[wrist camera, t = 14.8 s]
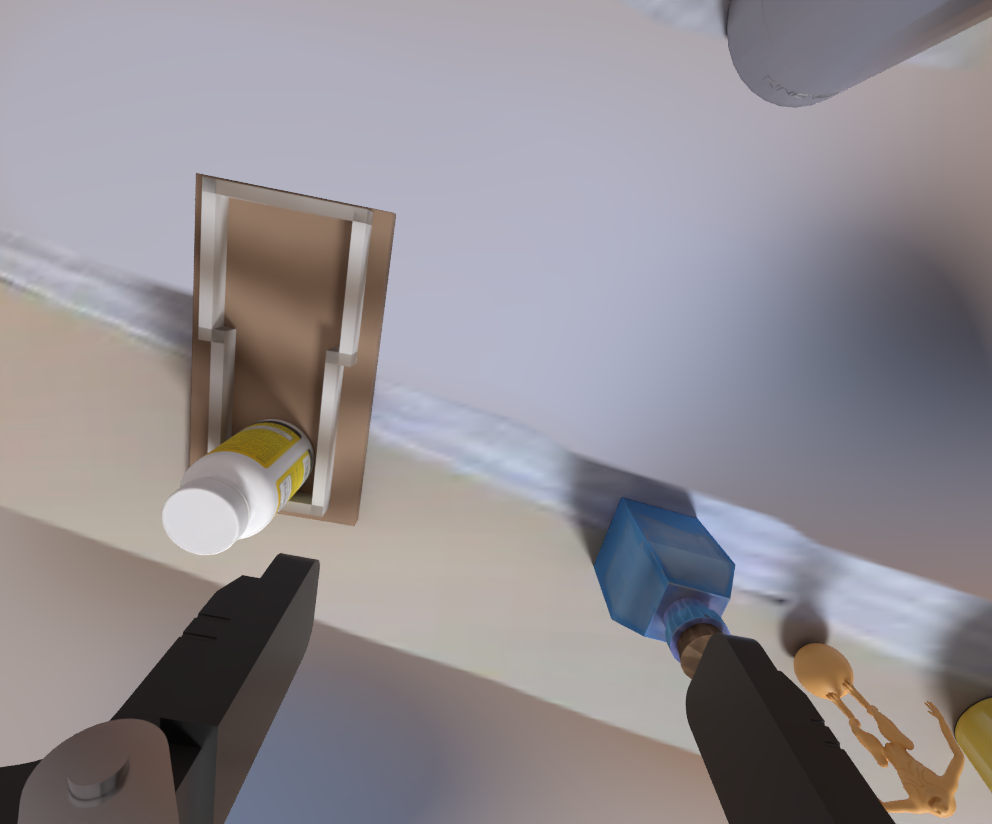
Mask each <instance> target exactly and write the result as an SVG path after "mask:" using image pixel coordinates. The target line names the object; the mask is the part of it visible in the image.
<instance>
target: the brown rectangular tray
mask: <svg viewBox="0 0 992 824" xmlns="http://www.w3.org/2000/svg"><path fill="white" fill-rule="evenodd" d="M195 202H196V203H195V244H194V246H195V247H194V291H193V337H192V384H191V430H190V467H191V466H192V465H193V464H194V463H195V462H196V461H197V460H199V459H200V458H202V457H203V456H205V455H206V454H208V453H209V452H211V451H212V450H214V449H215V448H217V447H218V446H219V445H221V444H222V443H224V442H225V441H227V440H228V439H230V438H231V437H233V436H234V435H236V434H237V433H239V432H240V431H242V430H243V429H245V428H246V427H248V426H250V425H251V424H253V423H255V422H258V421H261V420H266V419H277V420H283V421H286V422H288V423H291V424H292V425H294V426H296V427H297V428H299V429H300V430H301V431H302V432H303V433H304V434H305V435H306V437H307V438H308V439H309V441H310V443H311V445H312V448H313V451H314V465H313V469H312V471H311V473H310V475H309V477H308V478H307V480H306V481H305V482H304V483H303V484H302V486H301V487H300V488H299V489H298V490H297V491H296V493H295V494H294V495H293V496H292V497H291V498H290V500H289V501H288V502H287V503H286V504H285V505H284V507H283V508H282V509H281V510H280V511H279V512H278V514H284V515H290V516H296V517H302V518H308V519H315V520H321V521H327V522H333V523H339V524H345V525H351V526H355V524H356V522H357V520H358V515H359V507H360V499H361V491H362V483H363V475H364V467H365V459H366V451H367V443H368V435H369V427H370V419H371V411H372V403H373V395H374V387H375V379H376V371H377V363H378V355H379V347H380V339H381V331H382V323H383V315H384V307H385V299H386V291H387V283H388V275H389V267H390V259H391V251H392V243H393V235H394V227H395V219H396V214H394V213H392V212H387V211H382V210H377V209H372V208H367V207H362V206H357V205H352V204H347V203H342V202H337V201H332V200H327V199H322V198H317V197H313V196H308V195H303V194H298V193H293V192H288V191H283V190H278V189H273V188H267V187H263V186H258V185H253V184H248V183H243V182H238V181H232V180H228V179H223V178H218V177H213V176H208V175H203V174H198V173H196V198H195Z"/></svg>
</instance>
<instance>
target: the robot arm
mask: <svg viewBox="0 0 992 824" xmlns="http://www.w3.org/2000/svg"><path fill="white" fill-rule="evenodd" d="M990 17H992V0H731V3H730V7H729V13H728V24H727V34H728V46H729V51H730V54H731V58H732V61H733V64H734V66H735V68H736V70H737V72H738V74H739V76H740V78H741V79H742V81H743V82H744V83H745V84H746V85H747V86H748V88H749V89H750V90H751V91H752V92H753V93H755V94H756V95H758V96H759V97H761V98H762V99H764V100H765V101H768V102H770V103H773V104H776V105H779V106H786V107H801V106H809V105H813V104H816V103H818V102H821V101H823V100H826V99H829V98H831V97H833V96H835V95H837V94H839V93H841V92H842V91H845V90H847V89H848V88H851V87H853V86H855V85H857V84H859V83H861V82H862V81H865V80H866V79H868V78H870V77H873V76H875V75H877V74H879V73H881V72H883V71H885V70H887V69H889V68H891V67H893V66H895V65H897V64H899V63H901V62H903V61H905V60H907V59H909V58H911V57H913V56H915V55H917V54H919V53H921V52H923V51H925V50H927V49H929V48H930V47H932V46H934V45H936V44H938V43H940V42H942V41H944V40H946V39H948V38H950V37H952V36H954V35H956V34H958V33H960V32H962V31H964V30H966V29H968V28H970V27H972V26H974V25H976V24H978V23H980V22H982V21H984V20H986V19H988V18H990ZM319 569H320V563H319V560H316V559H310V558H304V557H299V556H293V555H288V554H282V553H280V554H278V555H277V556H276V557H275V559H274V560H273V561H272V563H271V564H270V565H269V567H268V568H267V570H266V571H265V572H264V574H263V575H262V577H261V578H255V577H249V576H244V575H242V576H241V577H239V578H238V579H236V580H234V581H233V582H231V583H229V584H228V585H226V586H225V587H223V588H221V589H220V590H218V591H217V592H216V593H215V594H214V595H213V596H212V598H211V599H210V600H209V601H208V603H207V604H206V605H205V606H204V607H203V609H202V610H201V611H200V612H199V614H198V617H197V618H194V620H193V621H192V622H191V623H190V625H189V626H188V627H187V628H186V629H185V630H184V632H183V635H182V637H179V638H178V639H177V640H176V642H175V643H174V644H173V645H172V646H171V648H170V649H169V650H168V651H167V653H166V654H165V655H164V656H163V657H162V658H161V660H160V661H159V662H158V663H157V665H156V666H155V667H154V668H153V669H152V671H151V672H150V673H149V675H148V676H147V677H146V678H145V679H144V680H143V682H142V683H141V684H140V685H139V686H138V688H137V689H136V690H135V691H134V693H133V694H132V695H131V696H130V698H129V699H128V700H127V701H126V702H125V703H124V705H123V706H122V707H121V708H120V710H119V711H118V712H117V713H116V714H115V715H114V716H113V717H112V719H111V720H110V721H108V722H104V723H101V724H97V725H95V726H92V727H89V728H87V729H85V730H83V731H81V732H79V733H77V734H75V735H74V736H72V737H70V738H69V739H67V740H65V741H64V742H62V743H61V744H60V745H58V746H57V747H56V748H54V749H53V750H52V751H51V752H50V753H49V754H48V755H47V756H46V757H44V759H41V760H38V761H34V762H30V763H25V764H20V765H14V766H6V767H0V824H224V822H225V820H226V818H227V816H228V814H229V812H230V810H231V808H232V806H233V803H234V802H235V799H236V797H237V795H238V793H239V791H240V789H241V787H242V785H243V783H244V781H245V778H246V776H247V774H248V772H249V770H250V768H251V766H252V764H253V762H254V760H255V757H256V755H257V753H258V751H259V749H260V747H261V745H262V743H263V741H264V739H265V736H266V734H267V732H268V730H269V728H270V726H271V724H272V722H273V720H274V718H275V716H276V713H277V711H278V709H279V707H280V705H281V703H282V701H283V699H284V697H285V695H286V692H287V690H288V688H289V686H290V684H291V682H292V680H293V678H294V676H295V673H296V671H297V669H298V667H299V665H300V663H301V661H302V659H303V656H304V654H305V651H306V649H307V646H308V643H309V639H310V635H311V632H312V626H313V620H314V612H315V604H316V595H317V587H318V578H319ZM686 714H687V719H688V723H689V726H690V728H691V731H692V733H693V736H694V738H695V741H696V743H697V746H698V748H699V751H700V753H701V756H702V758H703V760H704V763H705V765H706V768H707V770H708V773H709V775H710V778H711V780H712V783H713V785H714V788H715V790H716V793H717V795H718V798H719V800H720V803H721V805H722V808H723V810H724V813H725V815H726V818H727V820H728V822H729V824H895V822H894V821H893V819H892V818H891V817H890V815H889V814H888V812H887V811H886V809H885V808H884V807H883V805H882V804H881V802H880V801H879V799H878V798H877V796H876V795H875V794H874V792H873V791H872V789H871V788H870V786H869V785H868V783H867V782H866V781H865V779H864V778H863V776H862V775H861V773H860V772H859V770H858V769H857V768H856V766H855V765H854V763H853V762H852V760H851V759H850V757H849V756H848V755H847V753H846V752H845V750H844V749H841V748H840V743H839V742H838V740H837V739H836V737H835V736H834V734H833V733H832V731H831V730H830V729H829V727H827V726H825V725H824V722H825V721H824V720H823V718H822V717H821V716H820V714H819V713H818V711H817V710H816V708H815V707H814V705H813V704H812V703H811V701H810V700H809V698H808V697H807V695H806V694H805V693H804V692H803V691H802V690H800V689H799V688H798V687H797V686H796V685H795V684H794V683H793V682H792V681H791V680H790V679H789V678H788V677H787V676H786V675H785V674H784V673H783V672H781V671H778V670H777V669H776V667H775V666H774V664H773V663H772V661H771V660H770V658H769V657H768V655H767V654H766V652H765V651H764V649H763V648H762V646H761V645H760V644H759V643H758V642H757V641H756V640H754V639H750V638H744V637H739V636H733V635H728V634H722V633H715V634H713V635H712V636H711V637H710V638H709V640H708V643H707V645H706V647H705V650H704V652H703V654H702V657H701V659H700V661H699V664H698V666H697V669H696V671H695V673H694V676H693V678H692V680H691V683H690V685H689V687H688V690H687V695H686Z"/></svg>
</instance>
